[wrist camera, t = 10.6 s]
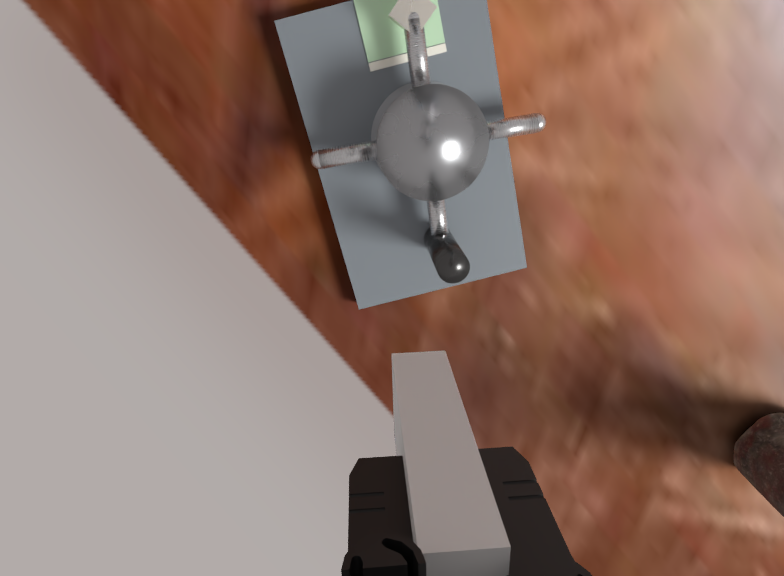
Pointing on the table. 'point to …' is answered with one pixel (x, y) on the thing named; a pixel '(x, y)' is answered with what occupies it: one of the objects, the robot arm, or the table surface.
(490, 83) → the stand plate
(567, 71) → the table surface
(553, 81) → the table surface
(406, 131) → the cam capstan
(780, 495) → the candle
